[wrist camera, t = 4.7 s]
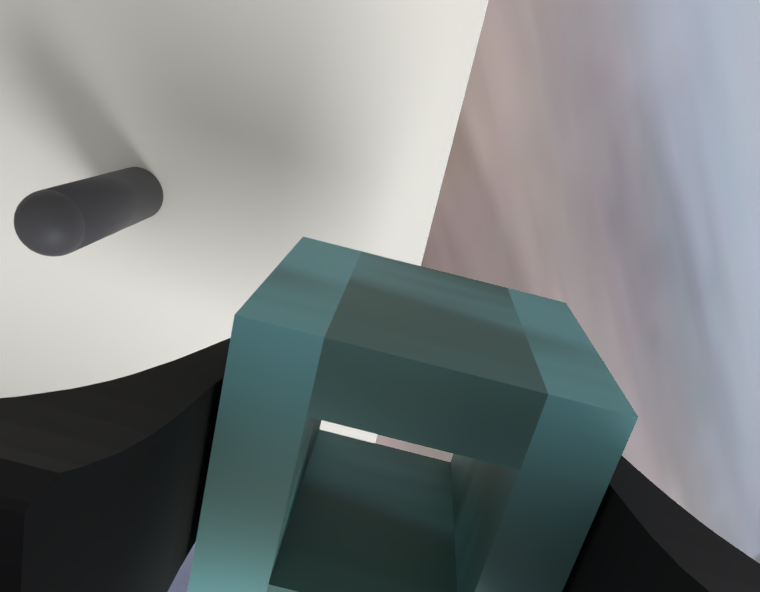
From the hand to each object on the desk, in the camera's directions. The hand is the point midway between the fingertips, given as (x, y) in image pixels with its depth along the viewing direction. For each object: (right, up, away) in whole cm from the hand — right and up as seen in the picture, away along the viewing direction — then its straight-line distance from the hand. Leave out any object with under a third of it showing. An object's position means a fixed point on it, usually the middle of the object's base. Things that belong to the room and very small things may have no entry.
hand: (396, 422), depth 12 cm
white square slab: (-8, +6, +8) cm, 13 cm away
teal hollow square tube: (0, 0, +1) cm, 1 cm away
